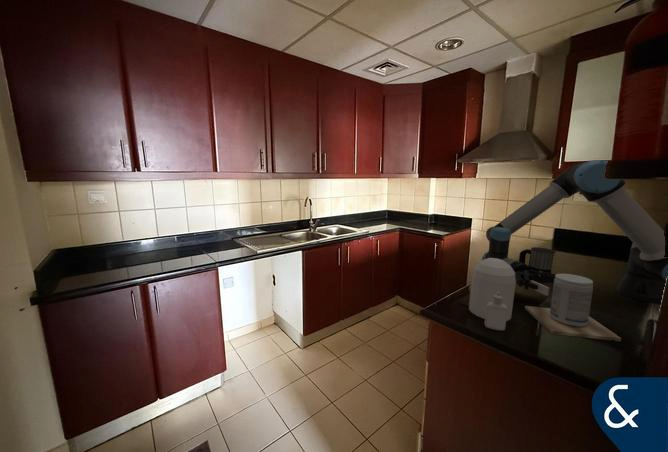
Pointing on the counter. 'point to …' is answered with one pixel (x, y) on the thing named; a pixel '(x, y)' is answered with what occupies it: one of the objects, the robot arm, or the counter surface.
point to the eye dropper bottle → (496, 314)
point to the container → (491, 285)
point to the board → (555, 327)
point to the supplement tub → (571, 299)
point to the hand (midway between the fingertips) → (565, 290)
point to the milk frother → (538, 259)
